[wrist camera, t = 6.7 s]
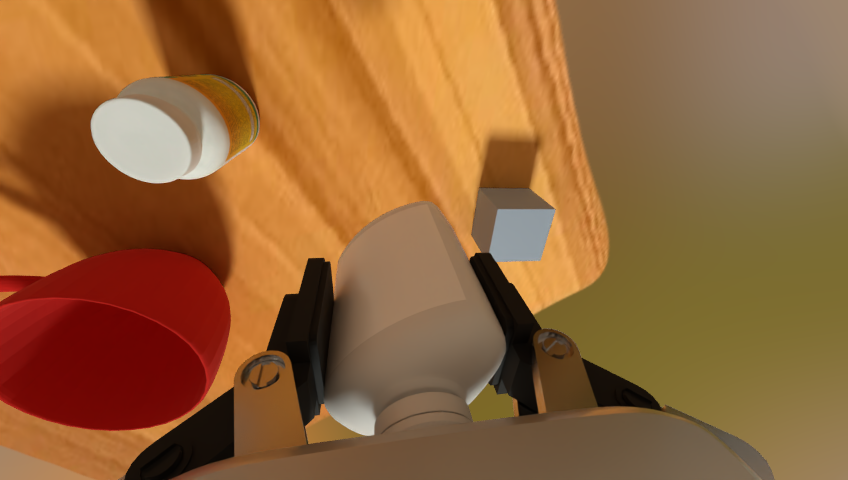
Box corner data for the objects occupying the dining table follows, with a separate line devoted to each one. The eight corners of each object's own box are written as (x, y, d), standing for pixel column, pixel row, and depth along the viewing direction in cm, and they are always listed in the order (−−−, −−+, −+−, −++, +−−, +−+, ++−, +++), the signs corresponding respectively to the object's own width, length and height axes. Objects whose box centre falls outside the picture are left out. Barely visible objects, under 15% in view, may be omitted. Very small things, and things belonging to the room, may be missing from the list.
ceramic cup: (31, 171, 23) (-171, 237, 14) (271, 250, 29) (230, 330, 20) (28, 299, 28) (-124, 406, 19) (235, 344, 34) (189, 441, 25)
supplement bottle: (229, 165, 25) (160, 217, 17) (163, 106, 22) (41, 134, 14) (278, 121, 24) (230, 154, 16) (214, 54, 21) (116, 51, 13)
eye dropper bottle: (325, 210, 14) (216, 652, 4) (449, 194, 14) (655, 535, 4) (345, 287, 16) (313, 689, 6) (451, 270, 17) (589, 611, 6)
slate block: (478, 187, 29) (497, 209, 25) (528, 188, 30) (555, 209, 26) (471, 234, 32) (487, 261, 27) (517, 234, 32) (540, 260, 28)
